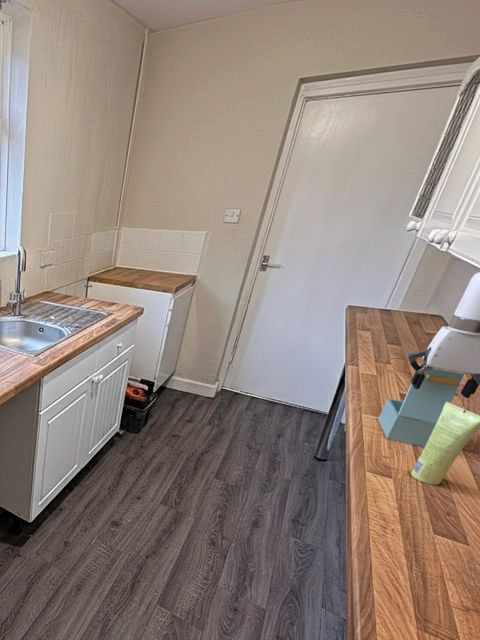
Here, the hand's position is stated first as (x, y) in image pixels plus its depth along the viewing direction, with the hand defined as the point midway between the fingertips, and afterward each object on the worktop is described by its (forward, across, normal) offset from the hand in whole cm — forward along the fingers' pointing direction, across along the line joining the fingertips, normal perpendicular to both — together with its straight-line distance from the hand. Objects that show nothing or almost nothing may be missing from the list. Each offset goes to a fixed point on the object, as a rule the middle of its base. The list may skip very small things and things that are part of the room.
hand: (439, 391), depth 104 cm
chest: (+18, 0, -10) cm, 20 cm away
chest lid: (+3, 0, -5) cm, 5 cm away
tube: (+18, 0, +16) cm, 24 cm away
